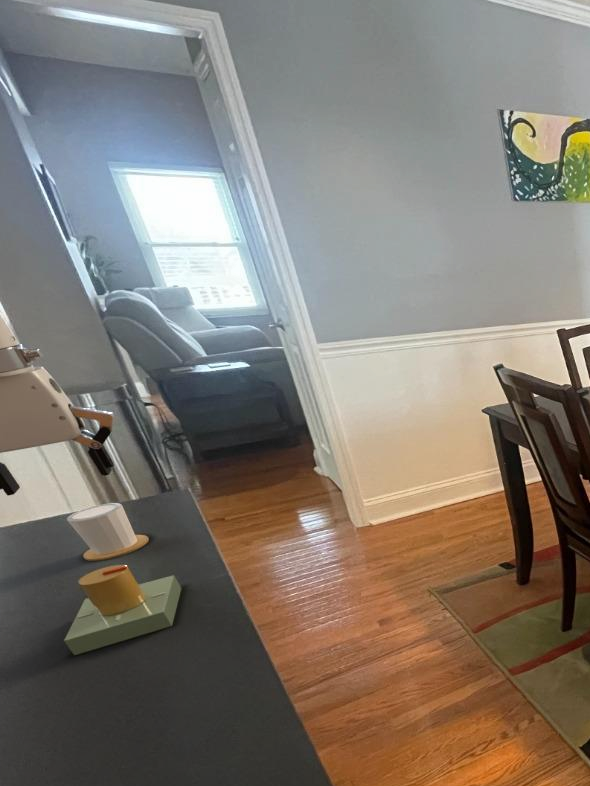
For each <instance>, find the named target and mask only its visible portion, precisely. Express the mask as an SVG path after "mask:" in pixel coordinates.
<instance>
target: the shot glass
mask: <svg viewBox="0 0 590 786" xmlns="http://www.w3.org/2000/svg"><path fill="white" fill-rule="evenodd" d="M66 521H67V522H68V523H69V524H70V526H72V528H73V530H74V531H76V533H77V535H79V537H81V539H82V540H83V541H84V542H85V544H86V545H87V546H88V547H89V549H91V550H92V551H93V552H94V553H95V554H99V555H102V554H109V553H114V552H118V551H120V550H123V549H126V548H128V547H130V546H132V545H134V544H135V543H136V542H137V538H136V536H135V535H136V534H135V531H134V530H133V527H132V525H131V523H130V520H129V518H128V516H127V513H126V511H125V509H124V507H123V504H121V503H119V502H111V503H103V504H98V505H94V506H90V507H87V508H83V509H81V510H78V511H76V512H74V513H72V514H70V515H69V516H67V518H66Z"/></svg>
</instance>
